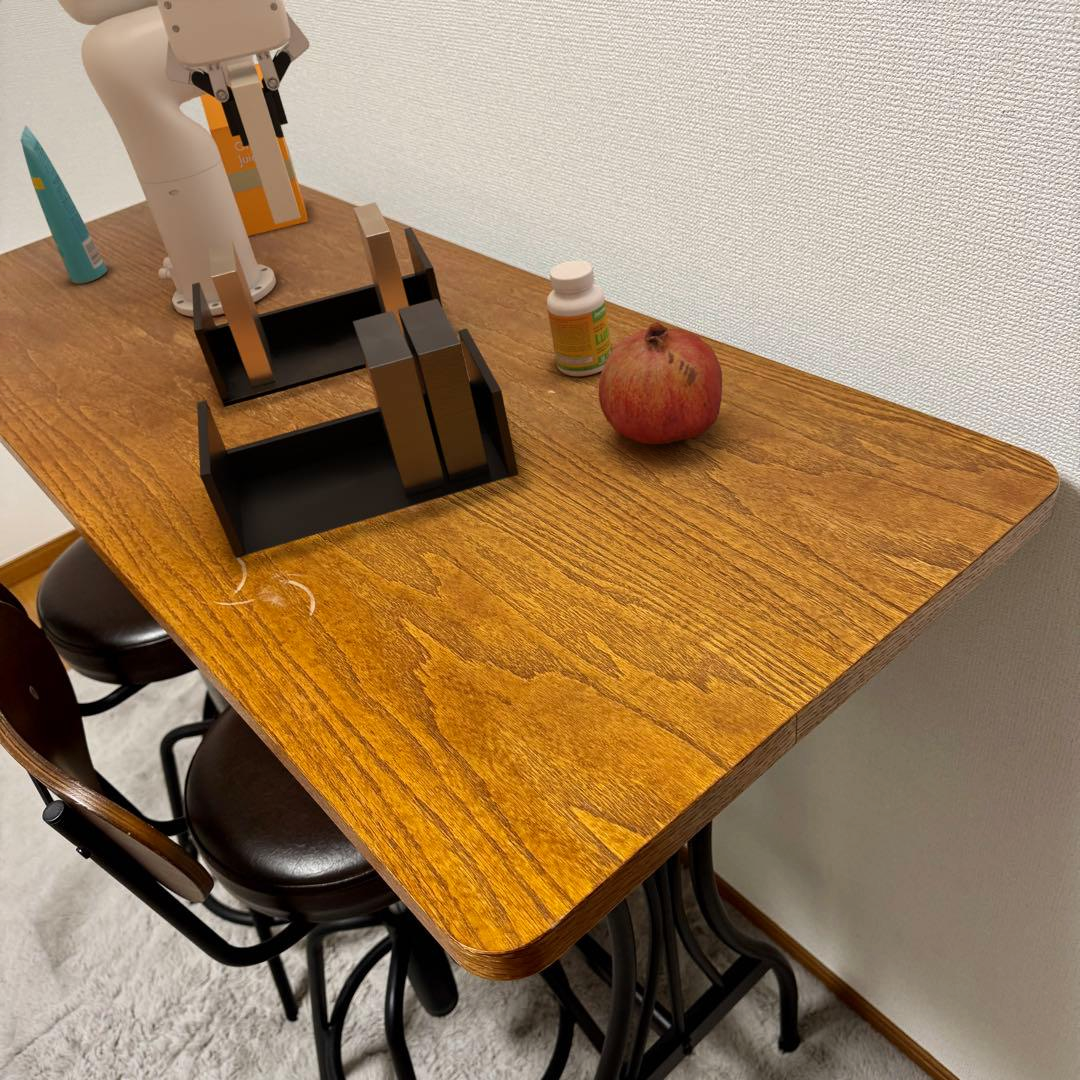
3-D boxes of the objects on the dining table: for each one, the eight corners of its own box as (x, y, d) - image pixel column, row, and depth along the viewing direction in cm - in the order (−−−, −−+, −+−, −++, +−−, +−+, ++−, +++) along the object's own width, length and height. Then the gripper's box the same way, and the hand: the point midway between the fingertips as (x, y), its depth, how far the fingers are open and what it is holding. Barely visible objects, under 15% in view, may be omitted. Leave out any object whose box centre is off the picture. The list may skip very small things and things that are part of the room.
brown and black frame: (225, 411, 104) (178, 291, 96) (221, 360, 114) (177, 247, 106) (452, 348, 107) (424, 227, 99) (429, 304, 117) (402, 190, 109)
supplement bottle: (608, 377, 98) (595, 280, 92) (552, 379, 99) (536, 284, 93) (616, 348, 102) (604, 254, 96) (562, 351, 103) (547, 258, 97)
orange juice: (244, 218, 149) (194, 71, 137) (305, 203, 150) (261, 56, 138) (245, 237, 143) (193, 85, 131) (308, 221, 144) (262, 69, 132)
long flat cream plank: (275, 224, 96) (231, 88, 88) (268, 194, 103) (227, 65, 95) (300, 218, 96) (259, 81, 88) (292, 188, 103) (253, 59, 95)
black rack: (239, 567, 83) (180, 430, 75) (232, 489, 93) (179, 360, 85) (520, 484, 86) (491, 343, 78) (486, 416, 96) (457, 285, 88)
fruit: (752, 435, 87) (748, 326, 81) (657, 484, 83) (645, 375, 77) (673, 389, 94) (664, 287, 88) (582, 433, 91) (566, 330, 85)
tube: (70, 272, 143) (4, 130, 131) (105, 262, 144) (43, 119, 132) (72, 291, 137) (4, 143, 126) (109, 280, 138) (45, 133, 127)
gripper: (285, -117, 88) (343, 107, 99) (93, -77, 86) (175, 148, 97) (293, -110, 82) (354, 128, 93) (87, -67, 80) (175, 171, 91)
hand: (262, 136), depth 95 cm, fingers closed on long flat cream plank, 2 cm apart
